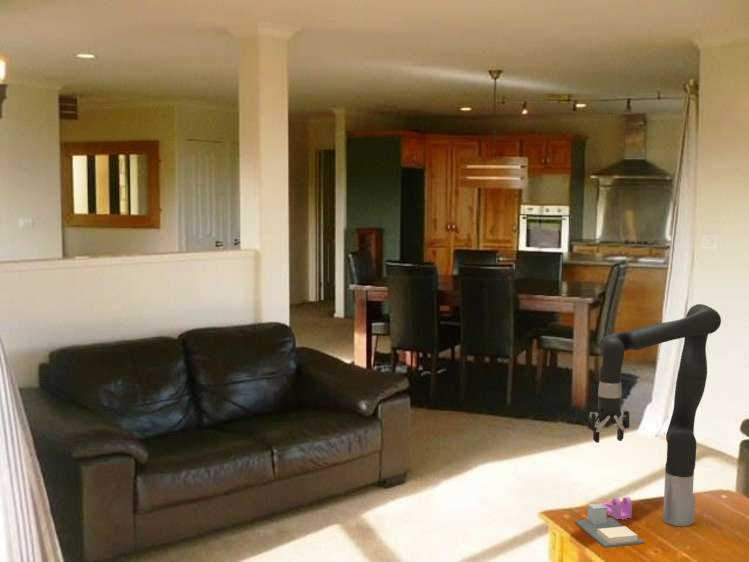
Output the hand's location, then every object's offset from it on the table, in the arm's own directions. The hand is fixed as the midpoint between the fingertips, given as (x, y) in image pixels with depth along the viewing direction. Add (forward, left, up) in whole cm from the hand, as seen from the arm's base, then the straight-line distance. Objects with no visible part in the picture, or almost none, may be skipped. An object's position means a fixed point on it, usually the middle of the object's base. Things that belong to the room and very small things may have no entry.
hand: (608, 441), depth 291 cm
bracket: (-7, -6, -28) cm, 30 cm away
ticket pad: (+4, +10, -28) cm, 30 cm away
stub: (+4, +2, -28) cm, 28 cm away
